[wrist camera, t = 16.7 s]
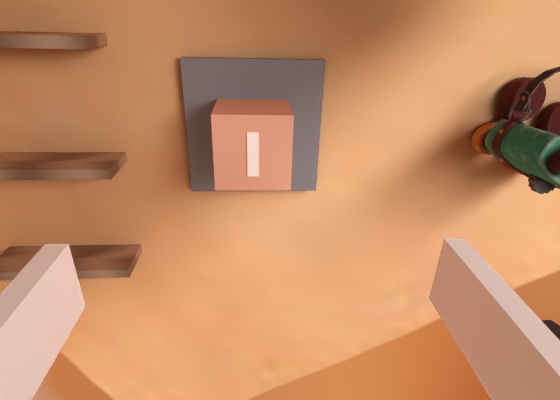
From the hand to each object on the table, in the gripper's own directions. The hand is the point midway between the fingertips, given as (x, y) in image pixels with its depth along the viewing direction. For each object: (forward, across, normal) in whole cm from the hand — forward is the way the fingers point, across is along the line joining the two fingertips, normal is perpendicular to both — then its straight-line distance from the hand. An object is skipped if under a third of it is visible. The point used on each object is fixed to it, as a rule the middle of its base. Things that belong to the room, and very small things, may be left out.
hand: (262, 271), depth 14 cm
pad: (+20, 0, 0) cm, 20 cm away
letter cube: (+19, 0, 0) cm, 19 cm away
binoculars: (+21, +24, +1) cm, 32 cm away
